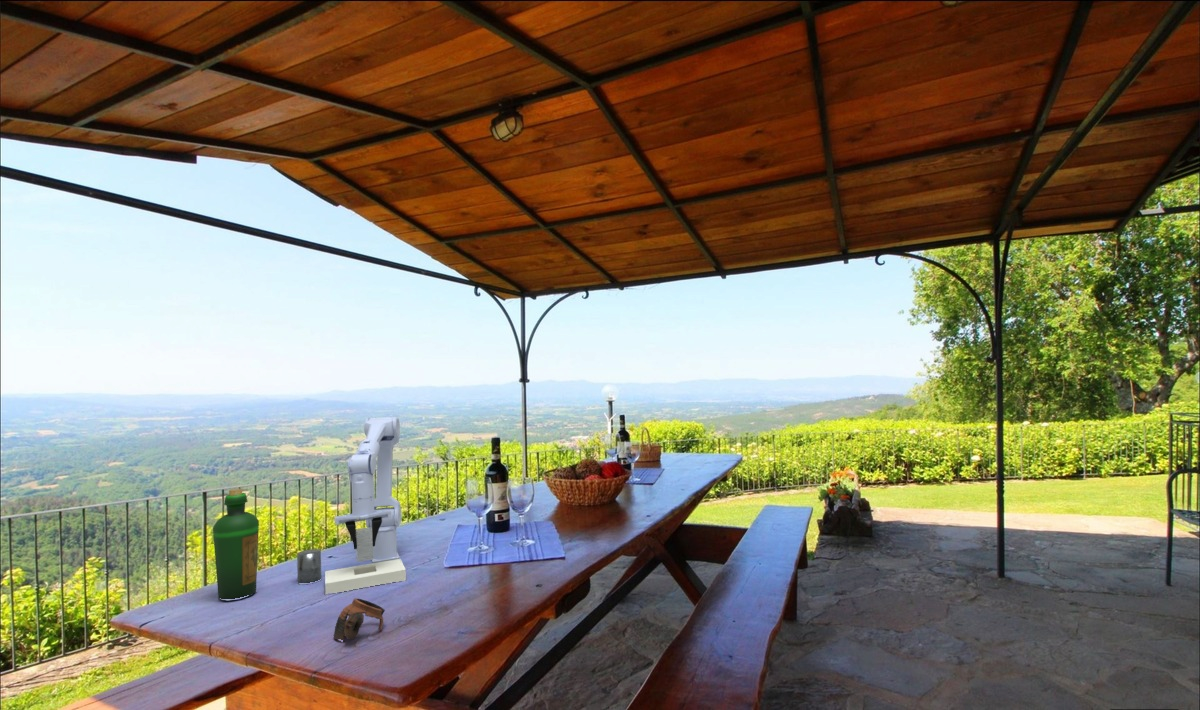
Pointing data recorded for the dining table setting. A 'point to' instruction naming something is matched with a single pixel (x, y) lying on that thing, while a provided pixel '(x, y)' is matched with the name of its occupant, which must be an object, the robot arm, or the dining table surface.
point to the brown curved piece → (356, 618)
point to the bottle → (236, 548)
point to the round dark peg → (309, 565)
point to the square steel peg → (364, 544)
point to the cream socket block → (364, 576)
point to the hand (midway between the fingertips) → (364, 547)
